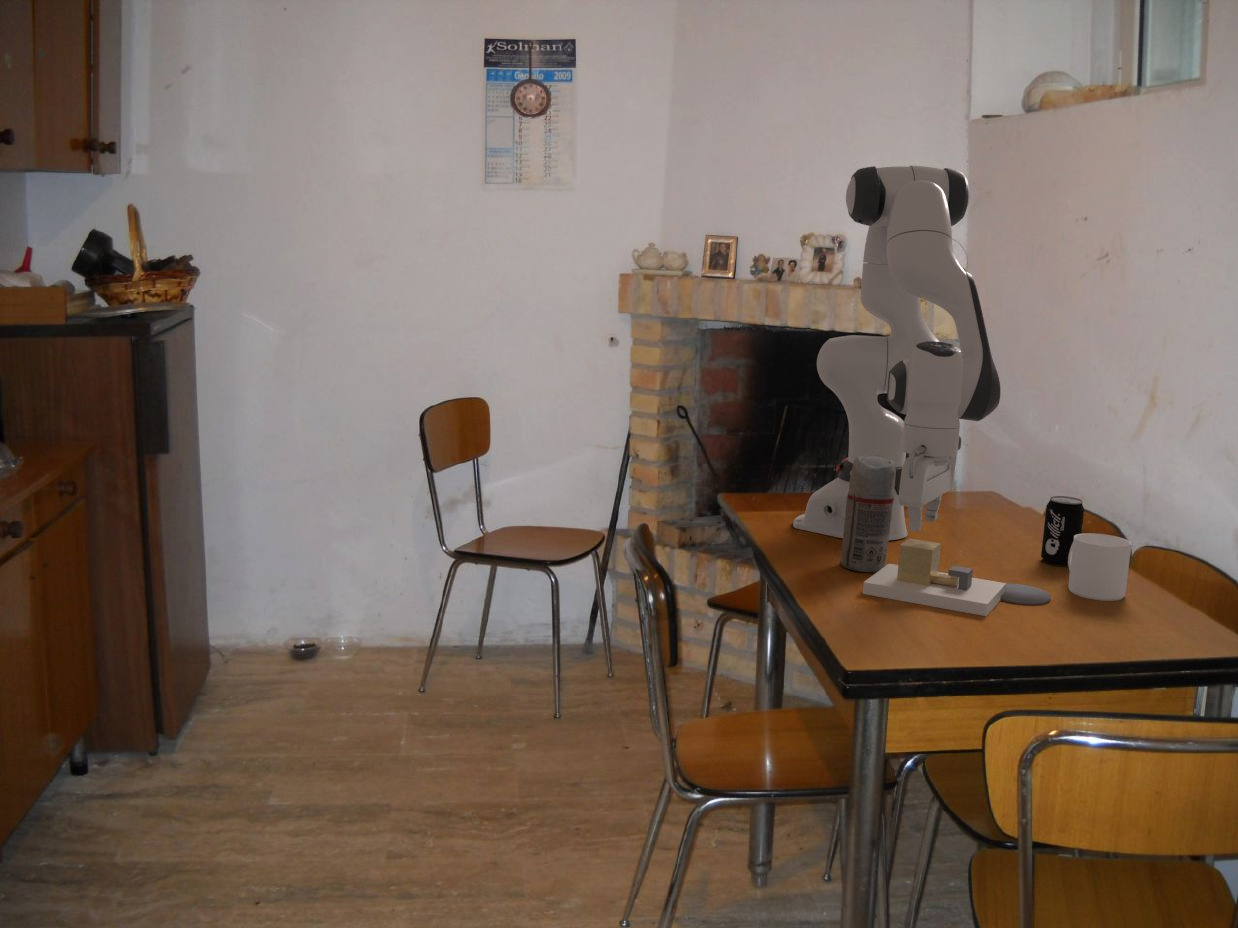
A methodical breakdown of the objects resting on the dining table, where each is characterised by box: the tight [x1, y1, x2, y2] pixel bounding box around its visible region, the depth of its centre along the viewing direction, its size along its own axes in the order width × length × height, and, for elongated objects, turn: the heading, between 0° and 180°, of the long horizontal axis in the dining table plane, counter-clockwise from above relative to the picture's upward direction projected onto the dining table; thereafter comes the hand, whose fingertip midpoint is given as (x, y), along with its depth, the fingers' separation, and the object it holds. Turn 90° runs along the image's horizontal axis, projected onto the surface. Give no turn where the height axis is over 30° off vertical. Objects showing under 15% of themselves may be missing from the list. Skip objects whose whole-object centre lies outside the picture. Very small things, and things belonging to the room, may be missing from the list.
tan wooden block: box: [897, 538, 959, 587], centre depth 199 cm, size 9×5×6 cm, turn 61°
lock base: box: [862, 563, 1007, 617], centre depth 199 cm, size 20×14×7 cm
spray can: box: [839, 454, 896, 573], centre depth 212 cm, size 8×8×20 cm
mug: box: [1067, 532, 1132, 602], centre depth 204 cm, size 12×9×9 cm
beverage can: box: [1040, 495, 1085, 567], centre depth 222 cm, size 7×7×12 cm
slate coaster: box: [1000, 582, 1052, 606], centre depth 200 cm, size 10×10×1 cm
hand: (923, 525), depth 198 cm, fingers open, 8 cm apart
